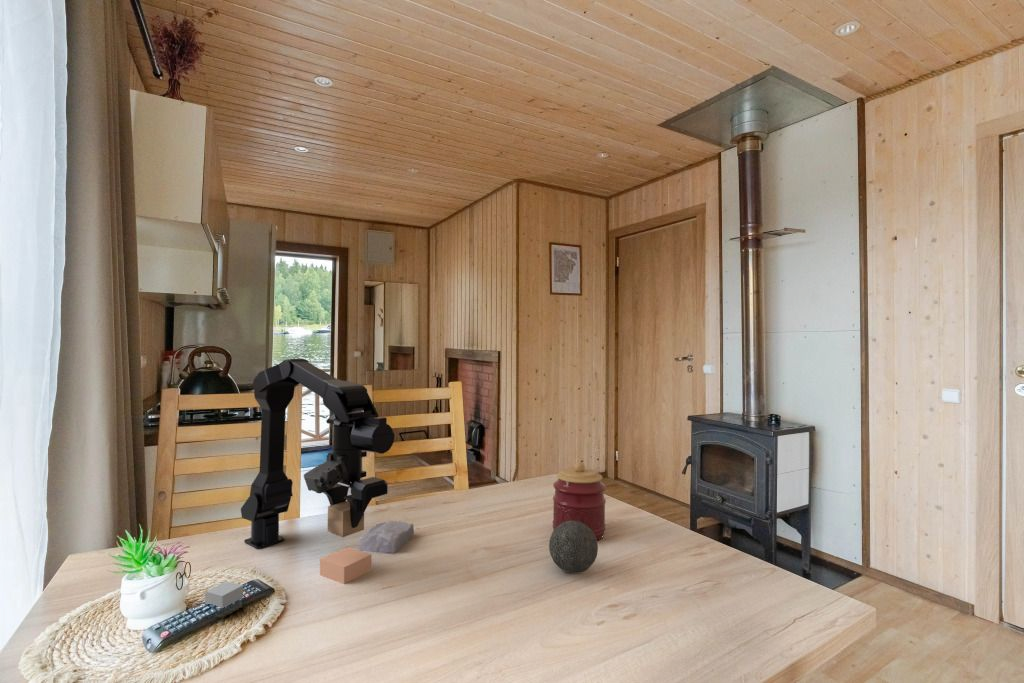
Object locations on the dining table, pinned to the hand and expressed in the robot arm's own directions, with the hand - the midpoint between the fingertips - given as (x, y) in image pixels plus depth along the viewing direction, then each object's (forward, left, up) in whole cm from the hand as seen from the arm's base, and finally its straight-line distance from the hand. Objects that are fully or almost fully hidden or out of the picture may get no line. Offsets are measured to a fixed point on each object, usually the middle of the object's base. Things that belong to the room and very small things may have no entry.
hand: (346, 524), depth 101 cm
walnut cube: (0, 0, -1) cm, 1 cm away
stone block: (-6, +15, -10) cm, 19 cm away
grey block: (-4, -21, -10) cm, 24 cm away
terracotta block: (0, 0, -10) cm, 10 cm away
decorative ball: (+36, +29, -10) cm, 47 cm away
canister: (+27, +48, -10) cm, 56 cm away
